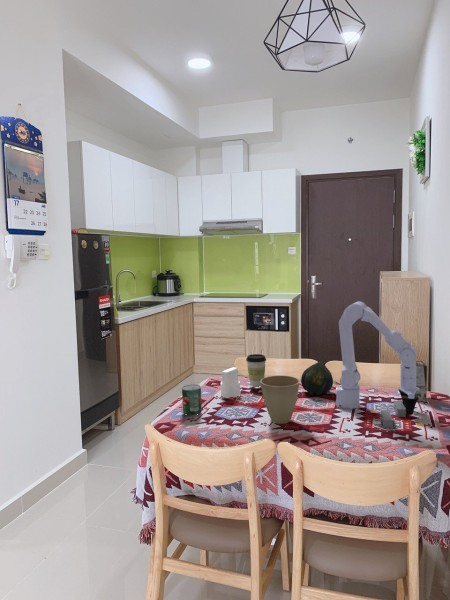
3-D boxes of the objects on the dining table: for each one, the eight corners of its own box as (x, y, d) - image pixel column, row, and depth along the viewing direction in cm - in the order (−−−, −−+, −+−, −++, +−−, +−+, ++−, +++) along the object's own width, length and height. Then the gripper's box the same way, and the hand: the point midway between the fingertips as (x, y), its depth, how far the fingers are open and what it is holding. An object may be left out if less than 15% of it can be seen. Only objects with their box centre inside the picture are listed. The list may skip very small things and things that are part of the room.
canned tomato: (178, 413, 190) (177, 387, 189) (192, 408, 196) (191, 383, 195) (192, 417, 185) (190, 391, 184) (205, 412, 190) (204, 386, 189)
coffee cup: (245, 389, 220) (244, 358, 219) (248, 383, 230) (247, 353, 229) (266, 389, 219) (265, 358, 217) (267, 383, 228) (266, 353, 227)
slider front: (383, 427, 164) (383, 419, 164) (380, 417, 174) (380, 410, 173) (392, 428, 163) (392, 420, 163) (389, 418, 173) (389, 410, 173)
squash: (292, 384, 207) (313, 360, 203) (298, 376, 221) (319, 354, 217) (315, 406, 204) (338, 383, 200) (321, 397, 218) (342, 375, 214)
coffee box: (427, 403, 191) (427, 366, 189) (410, 403, 192) (410, 365, 191) (422, 396, 200) (422, 360, 198) (406, 396, 201) (406, 360, 200)
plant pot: (254, 417, 182) (253, 378, 180) (287, 411, 188) (286, 373, 186) (273, 430, 169) (272, 388, 167) (307, 423, 174) (307, 382, 173)
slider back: (397, 416, 174) (397, 409, 174) (393, 407, 184) (393, 400, 184) (405, 417, 174) (405, 409, 173) (401, 408, 183) (401, 400, 183)
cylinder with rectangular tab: (228, 391, 218) (227, 366, 217) (244, 393, 213) (243, 368, 212) (217, 396, 211) (216, 370, 210) (233, 399, 206) (232, 373, 205)
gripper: (423, 382, 169) (422, 418, 170) (415, 372, 183) (415, 405, 184) (402, 381, 170) (402, 417, 172) (397, 371, 184) (396, 404, 186)
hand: (407, 411), depth 178 cm, fingers open, 7 cm apart
